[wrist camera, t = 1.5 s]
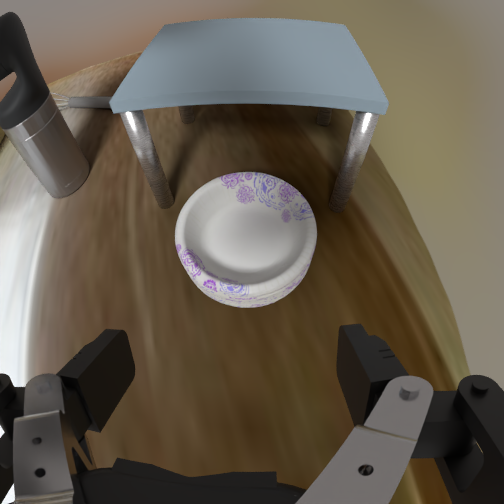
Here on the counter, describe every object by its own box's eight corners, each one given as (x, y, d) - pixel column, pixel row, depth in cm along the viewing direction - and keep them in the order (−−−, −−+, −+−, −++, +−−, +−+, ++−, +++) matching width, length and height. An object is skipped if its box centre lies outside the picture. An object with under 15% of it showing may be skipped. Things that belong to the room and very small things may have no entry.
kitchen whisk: (122, 115, 54) (113, 92, 48) (29, 121, 58) (19, 104, 53) (136, 99, 57) (128, 76, 51) (42, 106, 61) (33, 90, 55)
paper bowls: (174, 302, 36) (154, 278, 29) (205, 201, 43) (197, 163, 36) (298, 326, 35) (309, 306, 28) (313, 217, 41) (322, 180, 34)
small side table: (346, 214, 41) (389, 103, 24) (156, 210, 42) (109, 102, 25) (328, 117, 51) (344, 25, 34) (183, 115, 52) (164, 24, 35)
